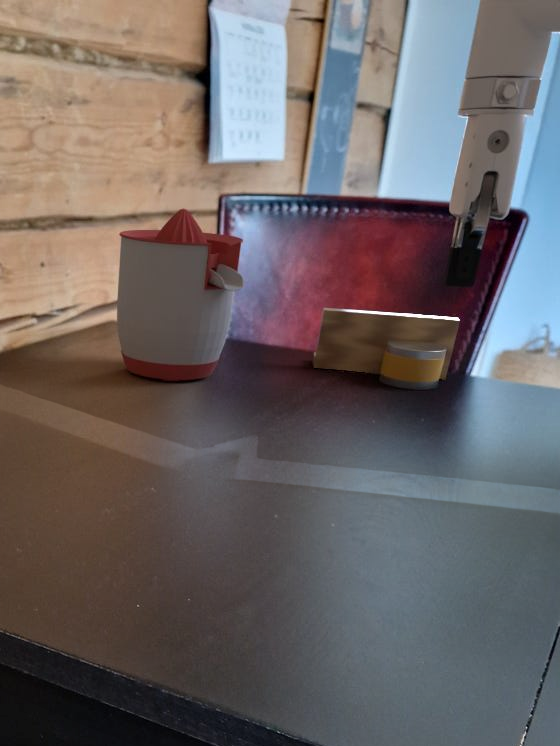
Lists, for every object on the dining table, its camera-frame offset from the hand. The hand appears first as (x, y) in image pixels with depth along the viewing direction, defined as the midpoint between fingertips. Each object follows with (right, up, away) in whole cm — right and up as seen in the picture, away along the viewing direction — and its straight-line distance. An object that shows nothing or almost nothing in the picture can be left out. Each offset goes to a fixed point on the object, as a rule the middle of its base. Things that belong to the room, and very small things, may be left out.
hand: (458, 285), depth 100 cm
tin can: (+1, -6, +17) cm, 18 cm away
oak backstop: (-2, -3, +23) cm, 23 cm away
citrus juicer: (-32, -6, +16) cm, 36 cm away
